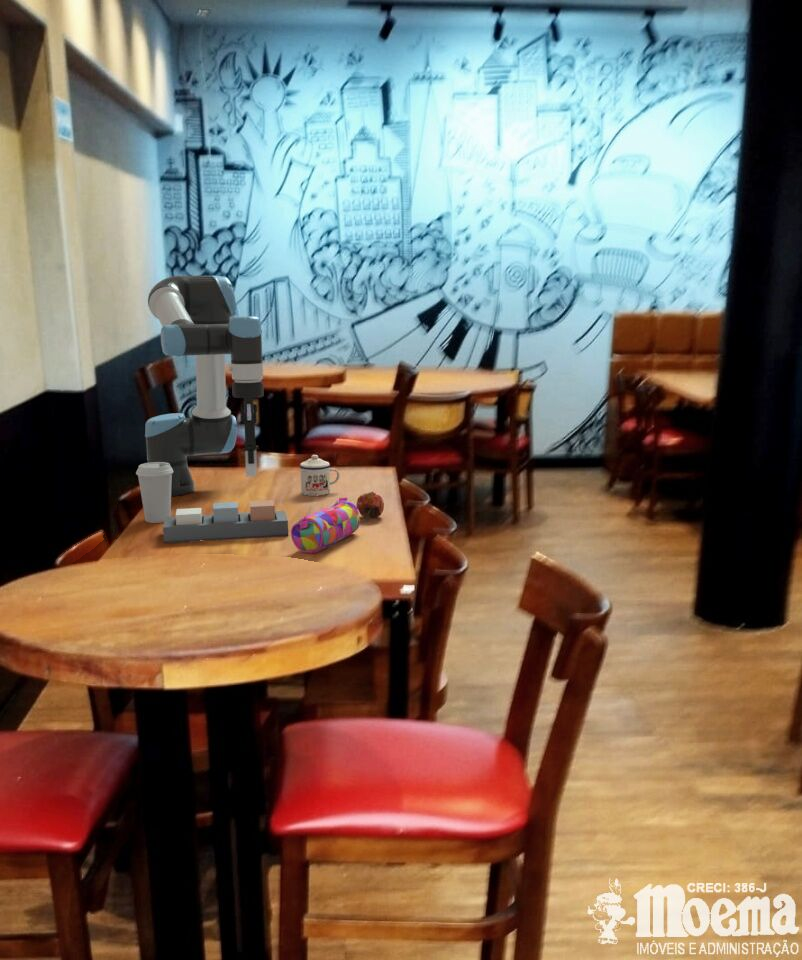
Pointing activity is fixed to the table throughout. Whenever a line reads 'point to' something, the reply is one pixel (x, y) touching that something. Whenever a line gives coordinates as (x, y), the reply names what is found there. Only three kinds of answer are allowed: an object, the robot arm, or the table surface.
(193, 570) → the table surface
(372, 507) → the pomegranate
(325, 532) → the pencil case
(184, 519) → the ivory key
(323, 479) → the teacup with lid
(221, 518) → the slate key
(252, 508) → the terracotta key
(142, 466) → the coffee cup
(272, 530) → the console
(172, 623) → the table surface
